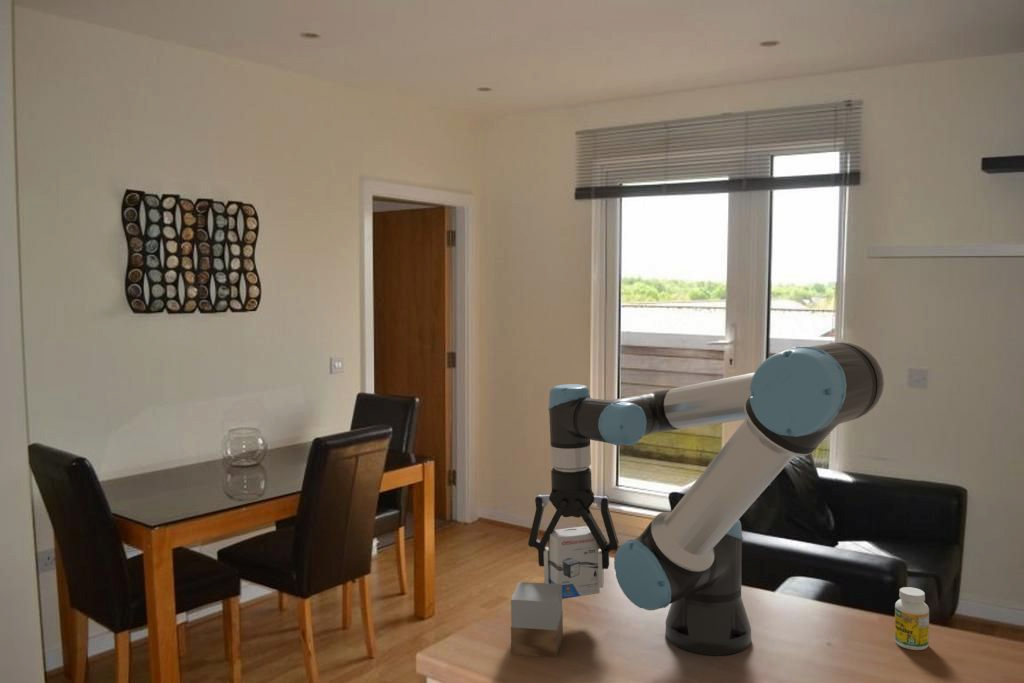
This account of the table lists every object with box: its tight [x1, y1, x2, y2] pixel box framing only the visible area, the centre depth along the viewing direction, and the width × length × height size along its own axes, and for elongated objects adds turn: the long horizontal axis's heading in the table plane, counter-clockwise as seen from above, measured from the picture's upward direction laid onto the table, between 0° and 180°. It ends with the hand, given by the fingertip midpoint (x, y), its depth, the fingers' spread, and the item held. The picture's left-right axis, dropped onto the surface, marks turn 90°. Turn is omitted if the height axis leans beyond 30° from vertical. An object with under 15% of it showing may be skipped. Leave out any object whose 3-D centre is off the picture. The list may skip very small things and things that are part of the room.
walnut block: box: [510, 610, 564, 658], centre depth 143 cm, size 8×8×5 cm
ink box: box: [547, 525, 601, 600], centre depth 151 cm, size 9×5×12 cm, turn 108°
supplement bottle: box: [894, 586, 930, 651], centre depth 141 cm, size 5×5×10 cm
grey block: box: [510, 581, 563, 630], centre depth 143 cm, size 8×8×5 cm
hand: (574, 583), depth 151 cm, fingers closed on ink box, 9 cm apart
